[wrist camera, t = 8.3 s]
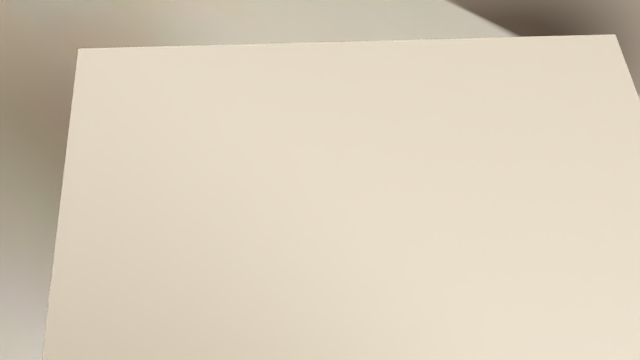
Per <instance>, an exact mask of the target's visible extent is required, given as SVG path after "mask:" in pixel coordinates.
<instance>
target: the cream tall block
mask: <svg viewBox="0 0 640 360" xmlns="http://www.w3.org/2000/svg"><path fill="white" fill-rule="evenodd" d="M42 360H640V99H639V97H638V94H637V91H636V89H635V86H634V83H633V81H632V78H631V76H630V73H629V70H628V67H627V65H626V62H625V59H624V57H623V54H622V51H621V49H620V46H619V43H618V41H617V38H616V35H615V34H614V35H579V36H577V35H575V36H541V37H540V36H537V37H499V38H461V39H423V40H385V41H347V42H309V43H271V44H233V45H195V46H157V47H118V48H80V49H78V55H77V64H76V72H75V81H74V89H73V98H72V106H71V115H70V123H69V132H68V140H67V149H66V157H65V166H64V174H63V183H62V191H61V199H60V208H59V216H58V225H57V233H56V242H55V250H54V259H53V267H52V276H51V284H50V293H49V301H48V310H47V318H46V327H45V335H44V344H43V352H42Z"/></svg>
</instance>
